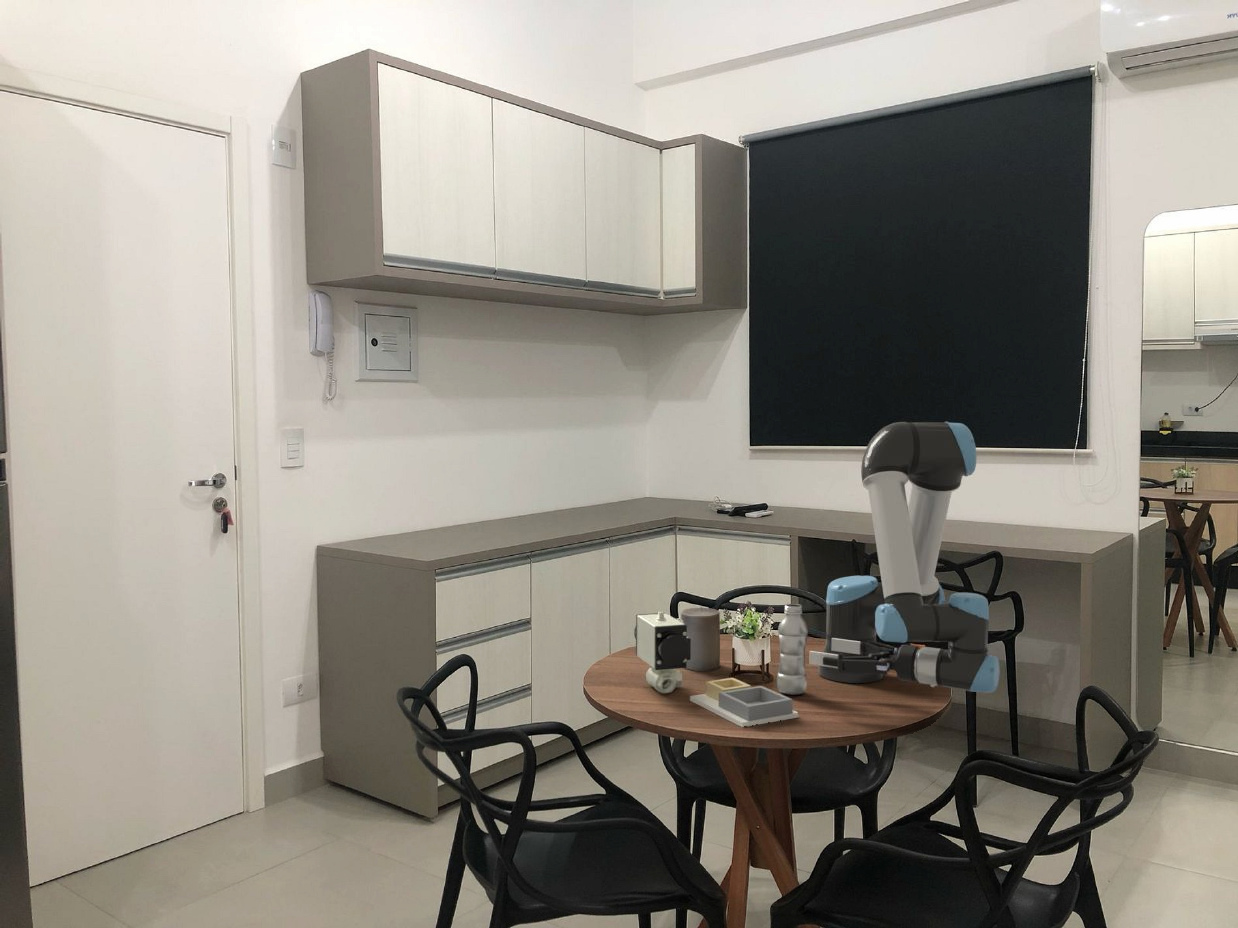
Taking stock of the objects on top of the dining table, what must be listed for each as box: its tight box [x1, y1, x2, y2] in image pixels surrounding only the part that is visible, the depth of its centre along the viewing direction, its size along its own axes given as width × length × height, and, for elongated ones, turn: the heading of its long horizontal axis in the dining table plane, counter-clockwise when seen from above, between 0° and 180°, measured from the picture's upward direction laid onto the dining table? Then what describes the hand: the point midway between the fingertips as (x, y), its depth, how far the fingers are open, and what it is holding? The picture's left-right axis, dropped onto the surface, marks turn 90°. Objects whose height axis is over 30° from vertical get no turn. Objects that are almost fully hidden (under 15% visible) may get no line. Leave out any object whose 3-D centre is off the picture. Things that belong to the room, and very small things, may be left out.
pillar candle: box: [679, 607, 721, 672], centre depth 243 cm, size 10×10×15 cm
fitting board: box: [689, 677, 799, 728], centre depth 210 cm, size 14×20×4 cm
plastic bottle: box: [776, 603, 809, 696], centre depth 220 cm, size 6×7×20 cm
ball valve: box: [633, 611, 691, 695], centre depth 223 cm, size 18×8×18 cm, turn 18°
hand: (821, 650), depth 216 cm, fingers open, 13 cm apart
